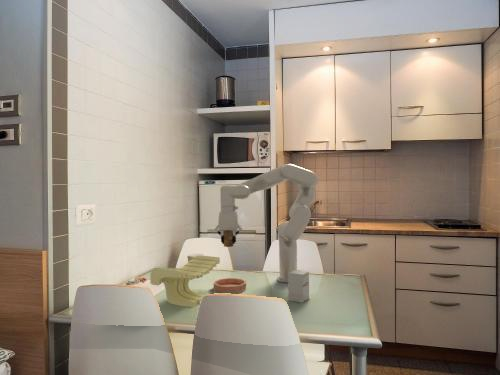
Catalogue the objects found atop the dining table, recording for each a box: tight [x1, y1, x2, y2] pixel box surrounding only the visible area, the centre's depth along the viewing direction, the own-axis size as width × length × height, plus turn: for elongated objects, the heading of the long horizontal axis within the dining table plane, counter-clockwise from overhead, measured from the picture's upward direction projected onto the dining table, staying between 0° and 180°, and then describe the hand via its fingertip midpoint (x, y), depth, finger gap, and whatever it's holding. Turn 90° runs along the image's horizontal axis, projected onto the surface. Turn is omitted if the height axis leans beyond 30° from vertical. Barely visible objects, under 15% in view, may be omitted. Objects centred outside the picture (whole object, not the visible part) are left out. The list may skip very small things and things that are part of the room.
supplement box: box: [287, 269, 310, 303], centre depth 182 cm, size 7×7×13 cm
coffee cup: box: [187, 253, 204, 278], centre depth 229 cm, size 9×9×12 cm
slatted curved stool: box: [149, 255, 221, 308], centre depth 184 cm, size 30×16×18 cm, turn 150°
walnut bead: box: [223, 231, 234, 248], centre depth 211 cm, size 5×5×8 cm
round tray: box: [213, 277, 247, 294], centre depth 201 cm, size 16×16×4 cm
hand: (228, 243), depth 211 cm, fingers closed on walnut bead, 4 cm apart
